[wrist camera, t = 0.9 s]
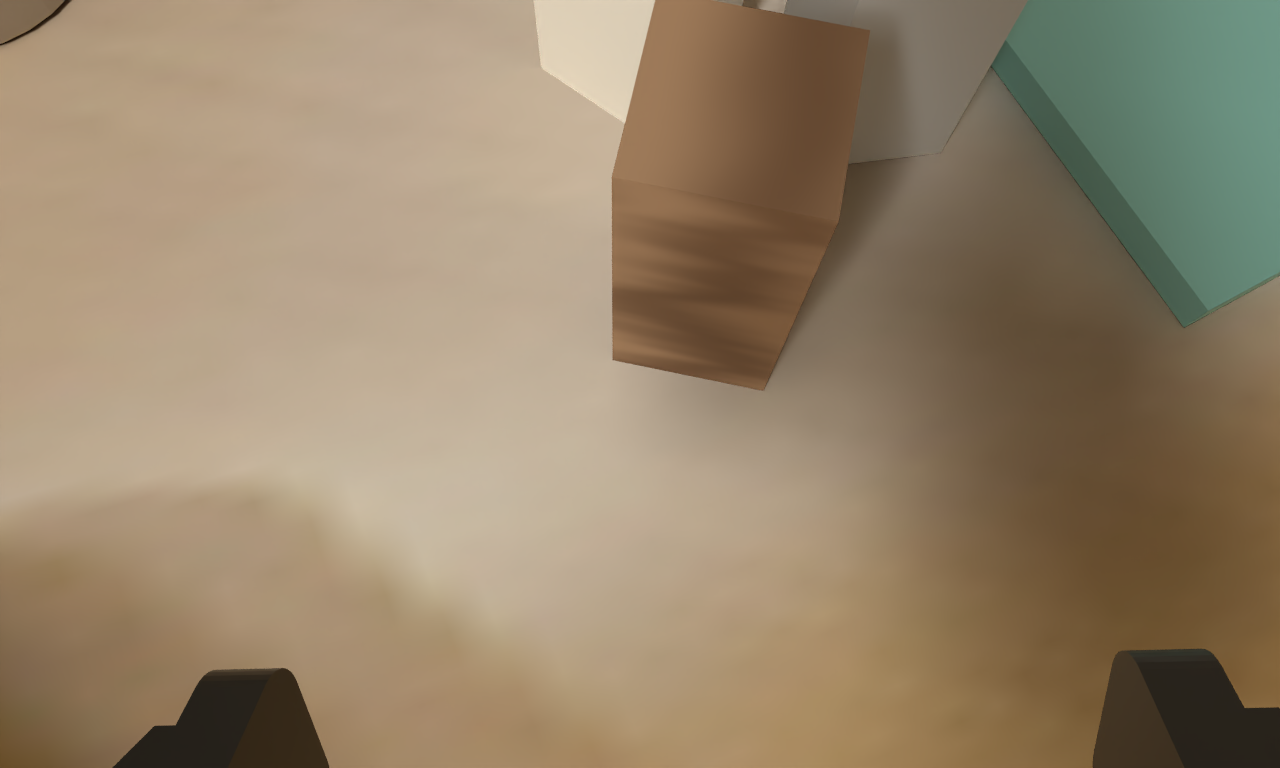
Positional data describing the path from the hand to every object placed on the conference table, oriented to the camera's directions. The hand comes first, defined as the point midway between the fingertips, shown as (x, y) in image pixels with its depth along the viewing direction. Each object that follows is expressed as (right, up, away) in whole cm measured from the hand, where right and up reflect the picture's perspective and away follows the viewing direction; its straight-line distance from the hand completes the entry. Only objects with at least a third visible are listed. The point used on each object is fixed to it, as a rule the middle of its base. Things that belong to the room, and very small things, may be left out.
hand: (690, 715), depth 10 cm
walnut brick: (+2, +6, +24) cm, 25 cm away
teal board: (+21, +15, +28) cm, 38 cm away
